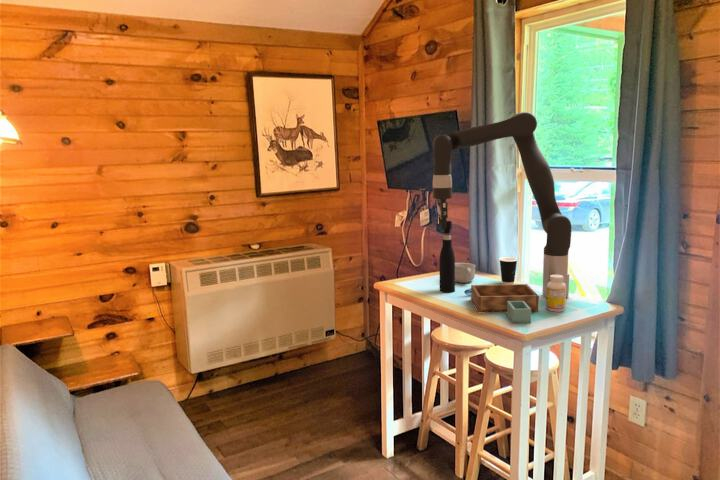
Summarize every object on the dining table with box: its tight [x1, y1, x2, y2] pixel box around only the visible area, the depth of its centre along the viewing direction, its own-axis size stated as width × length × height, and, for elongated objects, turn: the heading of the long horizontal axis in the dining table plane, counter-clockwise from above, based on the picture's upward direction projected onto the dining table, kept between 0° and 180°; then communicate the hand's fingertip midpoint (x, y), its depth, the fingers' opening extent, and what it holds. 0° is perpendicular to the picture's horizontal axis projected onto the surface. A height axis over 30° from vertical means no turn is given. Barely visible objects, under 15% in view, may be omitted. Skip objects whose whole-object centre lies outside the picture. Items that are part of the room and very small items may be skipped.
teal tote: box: [506, 301, 532, 324], centre depth 191 cm, size 6×10×5 cm, turn 177°
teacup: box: [455, 262, 477, 284], centre depth 242 cm, size 14×11×8 cm
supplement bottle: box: [546, 275, 567, 313], centre depth 199 cm, size 7×7×13 cm
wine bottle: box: [439, 220, 456, 294], centre depth 227 cm, size 6×6×30 cm
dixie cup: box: [498, 256, 518, 285], centre depth 238 cm, size 8×8×11 cm
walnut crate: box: [470, 283, 540, 313], centre depth 207 cm, size 22×17×6 cm
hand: (442, 226), depth 215 cm, fingers open, 8 cm apart
